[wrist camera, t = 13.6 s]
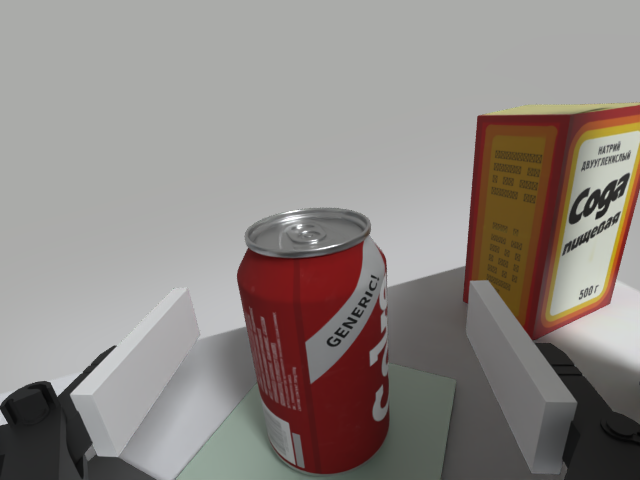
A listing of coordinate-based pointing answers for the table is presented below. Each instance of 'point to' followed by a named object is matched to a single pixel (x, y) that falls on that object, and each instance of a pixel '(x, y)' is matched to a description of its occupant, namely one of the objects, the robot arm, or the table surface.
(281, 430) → the soda can
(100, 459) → the bar
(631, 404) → the table surface
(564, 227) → the baking soda box
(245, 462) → the mat
